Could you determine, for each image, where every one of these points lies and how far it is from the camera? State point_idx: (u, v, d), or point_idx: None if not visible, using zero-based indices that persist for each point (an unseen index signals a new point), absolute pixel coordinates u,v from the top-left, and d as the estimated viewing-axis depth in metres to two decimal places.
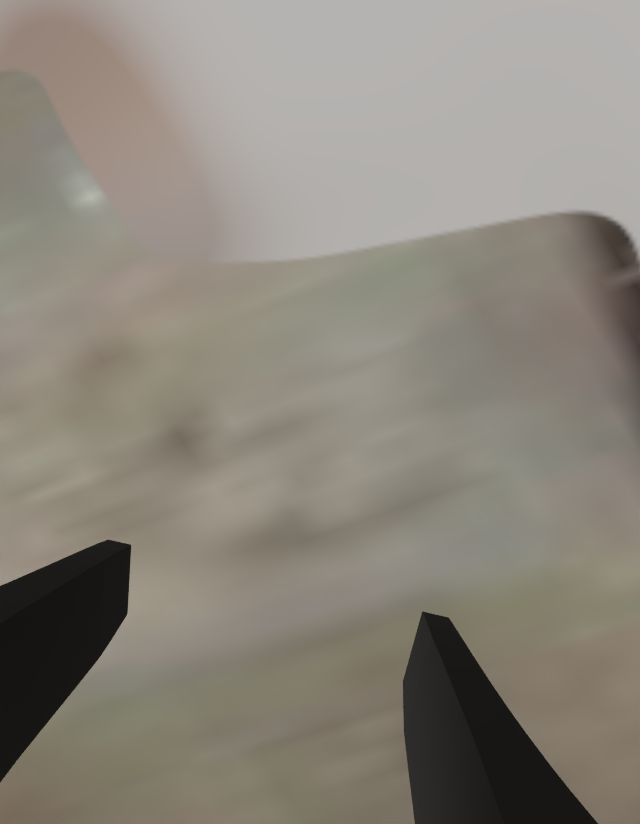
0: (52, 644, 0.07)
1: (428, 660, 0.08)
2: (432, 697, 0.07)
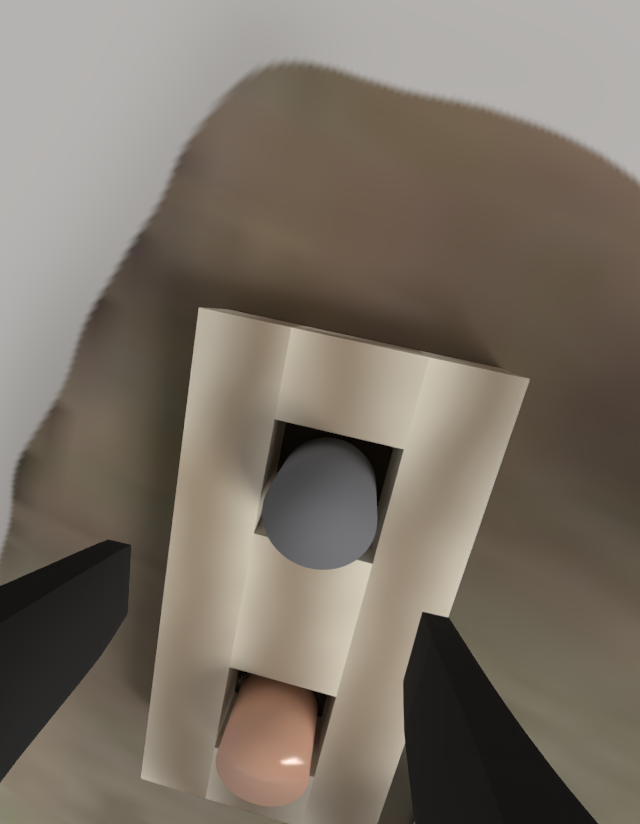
0: (52, 644, 0.07)
1: (428, 660, 0.08)
2: (432, 697, 0.07)
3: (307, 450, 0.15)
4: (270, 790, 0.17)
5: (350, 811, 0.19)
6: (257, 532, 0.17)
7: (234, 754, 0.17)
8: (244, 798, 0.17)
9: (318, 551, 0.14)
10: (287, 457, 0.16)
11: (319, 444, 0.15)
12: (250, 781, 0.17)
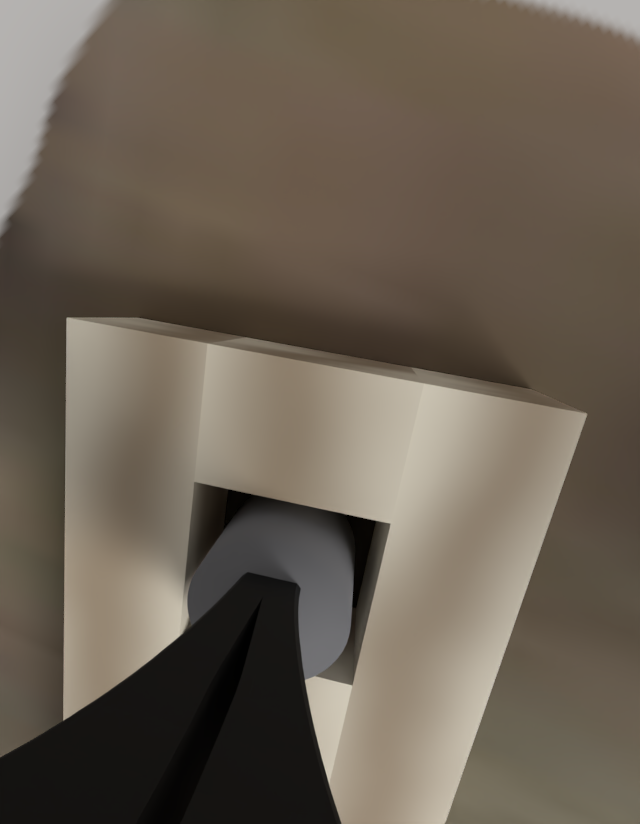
0: (230, 689, 0.07)
1: None
2: None
3: (254, 510, 0.11)
4: None
5: None
6: None
7: None
8: None
9: None
10: (235, 513, 0.12)
11: (273, 499, 0.11)
12: None
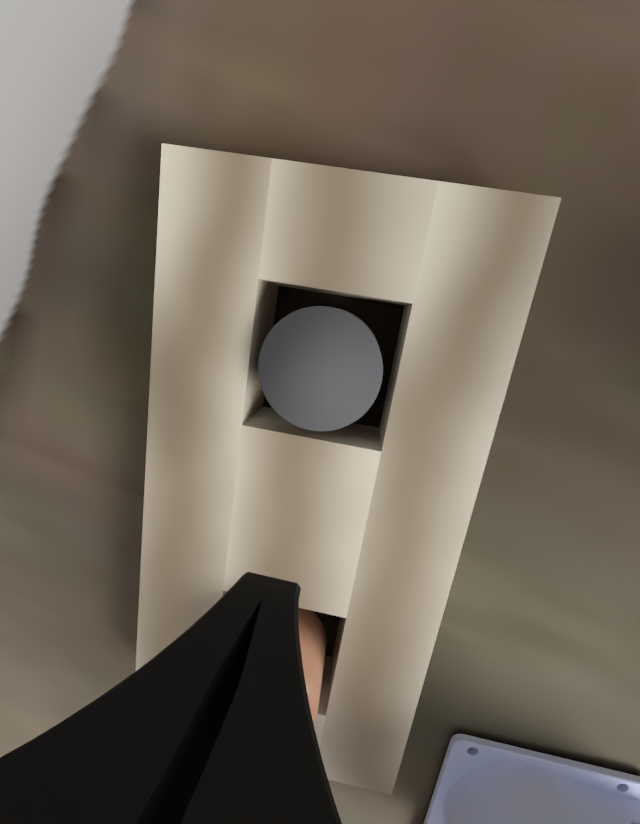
0: (230, 689, 0.07)
1: None
2: None
3: None
4: None
5: (368, 753, 0.17)
6: (246, 424, 0.14)
7: None
8: None
9: (321, 409, 0.13)
10: None
11: None
12: None
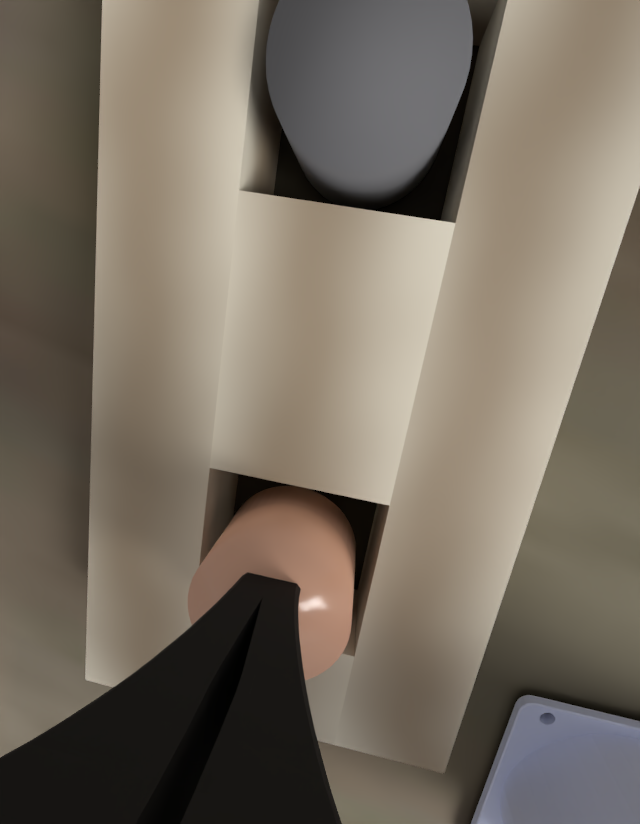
0: (230, 689, 0.07)
1: None
2: None
3: None
4: None
5: (414, 712, 0.12)
6: None
7: (218, 589, 0.09)
8: None
9: (366, 131, 0.08)
10: None
11: None
12: None
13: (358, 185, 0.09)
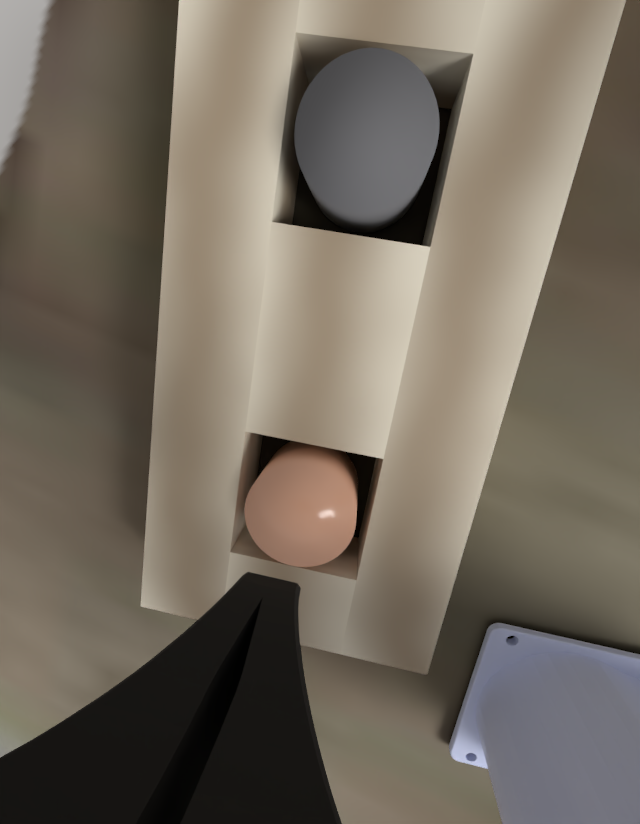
0: (230, 689, 0.07)
1: None
2: None
3: None
4: (311, 543, 0.14)
5: (403, 624, 0.15)
6: (276, 223, 0.13)
7: (266, 499, 0.14)
8: (279, 559, 0.15)
9: (365, 183, 0.11)
10: None
11: None
12: (286, 534, 0.14)
13: (359, 218, 0.12)
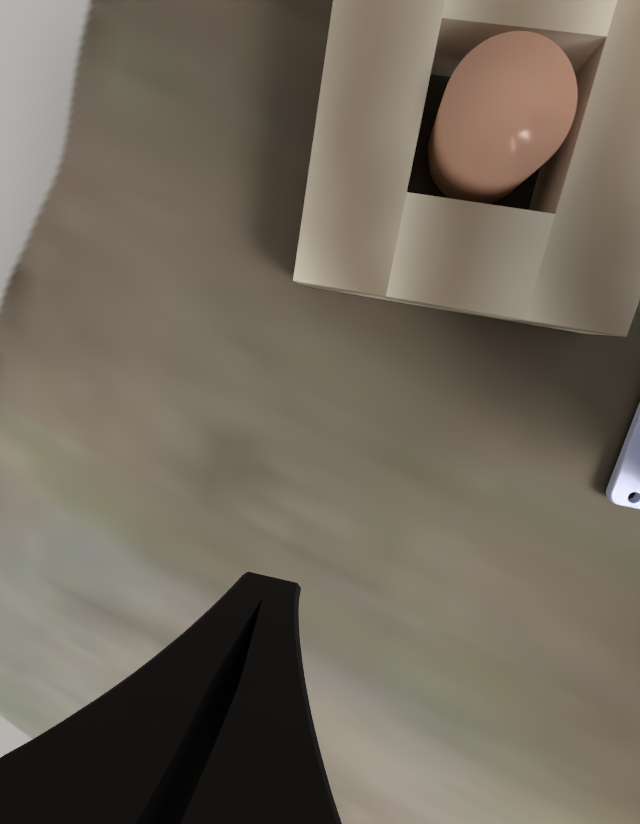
0: (230, 689, 0.07)
1: None
2: None
3: None
4: (517, 145, 0.12)
5: (605, 269, 0.14)
6: None
7: (469, 88, 0.12)
8: (476, 173, 0.13)
9: None
10: None
11: None
12: (489, 135, 0.12)
13: None
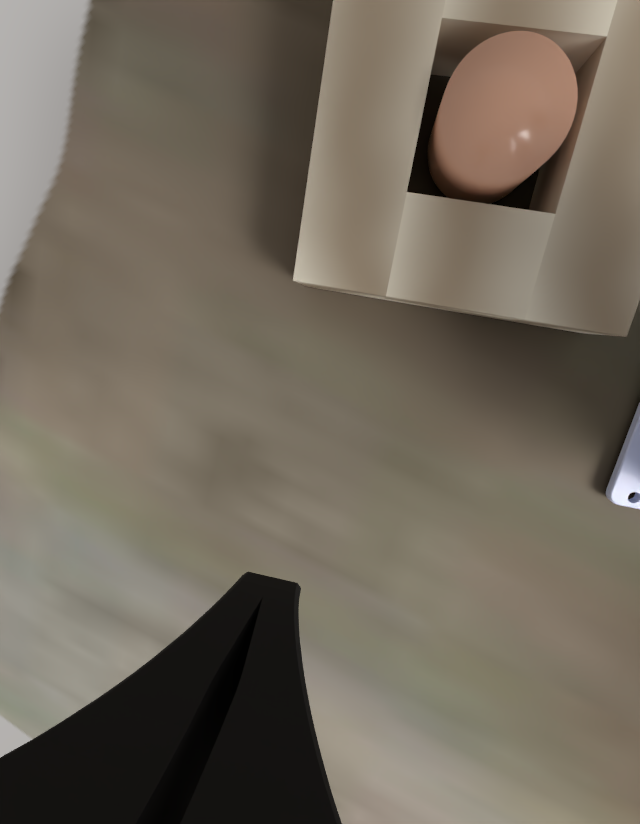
0: (230, 689, 0.07)
1: None
2: None
3: None
4: (517, 145, 0.12)
5: (605, 269, 0.14)
6: None
7: (469, 88, 0.12)
8: (476, 173, 0.13)
9: None
10: None
11: None
12: (489, 135, 0.12)
13: None
